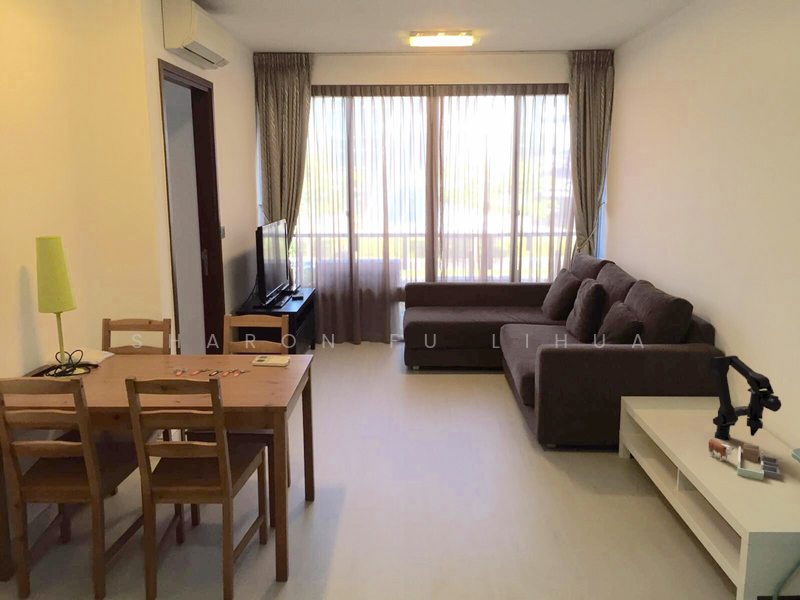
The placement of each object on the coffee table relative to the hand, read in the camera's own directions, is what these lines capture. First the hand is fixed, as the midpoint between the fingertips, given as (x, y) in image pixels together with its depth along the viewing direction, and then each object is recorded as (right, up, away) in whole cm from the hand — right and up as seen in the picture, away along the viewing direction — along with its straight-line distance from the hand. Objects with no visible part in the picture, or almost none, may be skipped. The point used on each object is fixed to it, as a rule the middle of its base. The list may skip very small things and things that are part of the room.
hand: (752, 435), depth 291 cm
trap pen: (-5, -11, -14) cm, 18 cm away
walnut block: (-3, -9, -4) cm, 10 cm away
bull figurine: (-18, -9, -7) cm, 22 cm away
